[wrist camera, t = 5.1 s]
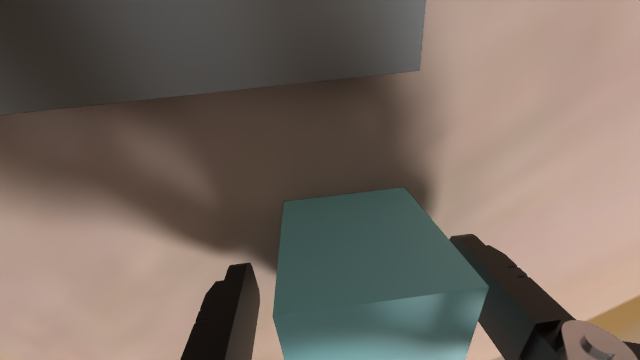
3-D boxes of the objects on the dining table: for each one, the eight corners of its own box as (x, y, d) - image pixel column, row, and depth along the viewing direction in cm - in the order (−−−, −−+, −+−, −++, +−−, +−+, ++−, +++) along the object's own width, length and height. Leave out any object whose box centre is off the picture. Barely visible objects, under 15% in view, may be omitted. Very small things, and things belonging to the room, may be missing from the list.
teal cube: (403, 186, 10) (488, 286, 6) (396, 272, 12) (453, 393, 8) (283, 200, 10) (272, 316, 5) (299, 285, 12) (300, 417, 8)
